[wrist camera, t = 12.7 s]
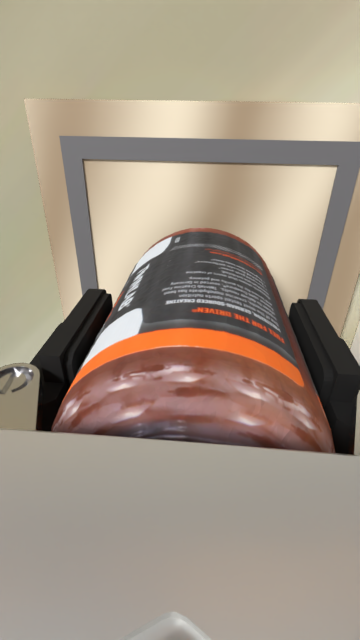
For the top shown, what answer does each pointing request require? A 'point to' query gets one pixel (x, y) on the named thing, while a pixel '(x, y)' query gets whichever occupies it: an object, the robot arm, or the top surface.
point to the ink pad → (356, 345)
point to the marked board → (201, 188)
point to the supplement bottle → (198, 354)
